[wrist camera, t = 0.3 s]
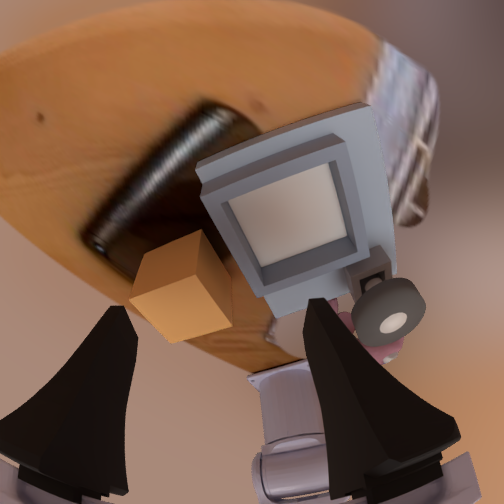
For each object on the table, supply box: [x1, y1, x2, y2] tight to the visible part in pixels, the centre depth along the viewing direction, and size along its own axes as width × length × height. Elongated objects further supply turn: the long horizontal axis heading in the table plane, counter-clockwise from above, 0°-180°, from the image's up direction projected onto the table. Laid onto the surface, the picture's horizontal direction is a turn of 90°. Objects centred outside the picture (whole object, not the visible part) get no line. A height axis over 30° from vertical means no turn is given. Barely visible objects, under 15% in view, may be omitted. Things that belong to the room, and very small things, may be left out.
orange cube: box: [129, 229, 233, 343], centre depth 20 cm, size 5×5×5 cm
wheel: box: [351, 278, 426, 347], centre depth 18 cm, size 5×5×4 cm
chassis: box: [195, 102, 397, 318], centre depth 18 cm, size 14×11×4 cm
